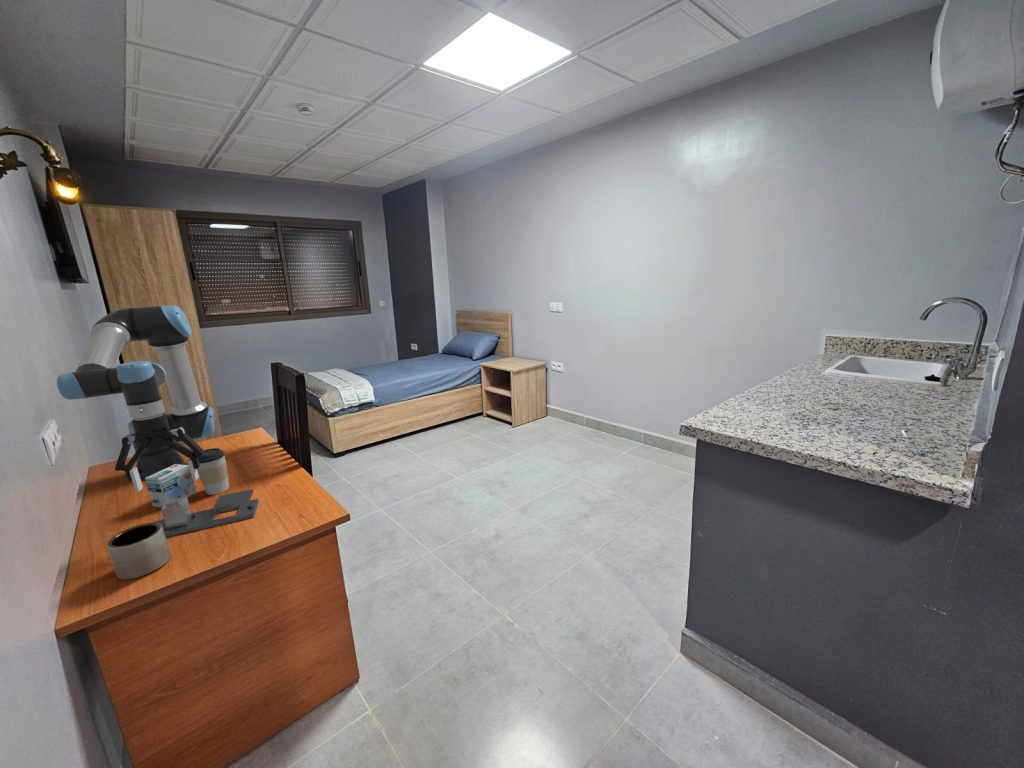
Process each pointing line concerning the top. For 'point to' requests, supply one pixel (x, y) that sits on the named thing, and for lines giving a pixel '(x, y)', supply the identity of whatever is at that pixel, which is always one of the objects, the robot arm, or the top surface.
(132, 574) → the planter
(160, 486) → the light bulb box
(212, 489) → the coffee cup
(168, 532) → the rack rail
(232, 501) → the rubber mat
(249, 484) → the top surface
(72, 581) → the top surface
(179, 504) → the grey square block
